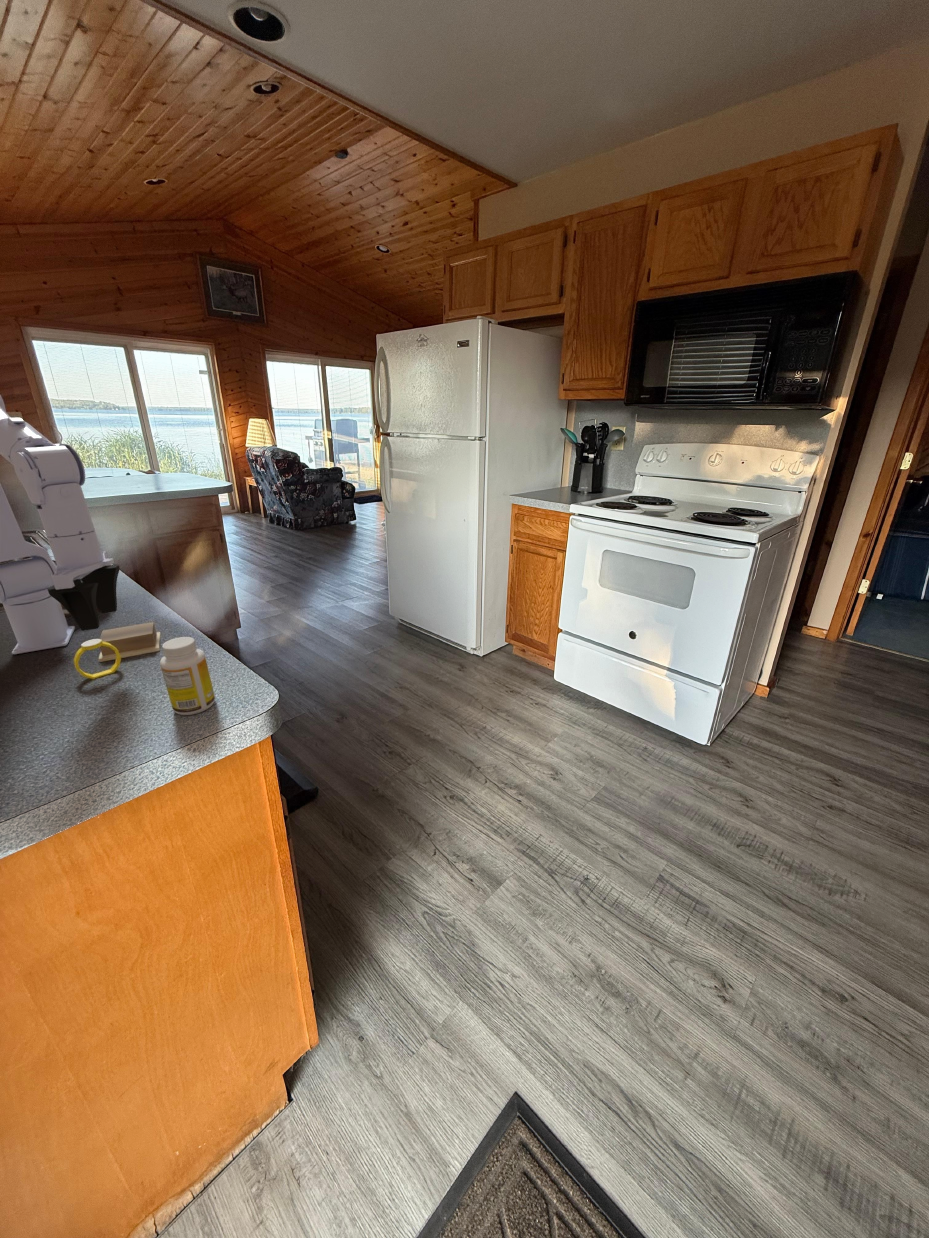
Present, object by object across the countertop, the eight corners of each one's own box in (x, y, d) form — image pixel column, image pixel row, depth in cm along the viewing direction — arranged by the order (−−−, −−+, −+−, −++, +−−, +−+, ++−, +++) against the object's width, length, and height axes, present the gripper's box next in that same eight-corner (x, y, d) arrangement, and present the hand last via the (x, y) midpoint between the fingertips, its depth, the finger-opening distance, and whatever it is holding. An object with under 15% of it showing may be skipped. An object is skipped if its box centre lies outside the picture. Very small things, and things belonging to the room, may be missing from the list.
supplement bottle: (205, 692, 77) (190, 630, 73) (222, 704, 73) (208, 641, 69) (166, 707, 73) (148, 643, 69) (183, 721, 69) (165, 655, 65)
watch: (84, 685, 79) (69, 652, 77) (80, 679, 81) (65, 647, 79) (127, 669, 83) (113, 638, 81) (122, 664, 85) (109, 633, 82)
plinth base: (104, 644, 93) (99, 629, 92) (160, 634, 97) (156, 619, 95) (99, 662, 86) (94, 645, 85) (159, 650, 90) (155, 634, 89)
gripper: (82, 540, 68) (112, 633, 73) (119, 522, 81) (142, 601, 86) (20, 546, 66) (56, 640, 71) (68, 526, 79) (95, 607, 84)
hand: (100, 620), depth 78 cm, fingers open, 7 cm apart
